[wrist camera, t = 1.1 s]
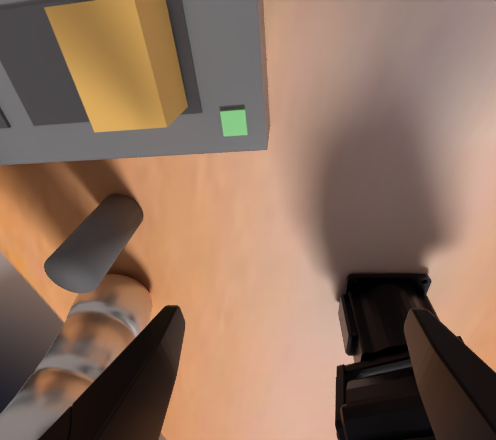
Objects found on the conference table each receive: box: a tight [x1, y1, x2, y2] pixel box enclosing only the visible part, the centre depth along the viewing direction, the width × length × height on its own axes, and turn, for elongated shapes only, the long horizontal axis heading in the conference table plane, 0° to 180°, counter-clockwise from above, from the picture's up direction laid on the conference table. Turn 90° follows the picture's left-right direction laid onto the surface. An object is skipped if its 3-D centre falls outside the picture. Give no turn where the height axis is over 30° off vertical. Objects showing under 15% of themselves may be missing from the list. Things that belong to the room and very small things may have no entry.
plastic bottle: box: [0, 274, 153, 440], centre depth 21 cm, size 6×7×20 cm
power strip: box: [0, 0, 270, 165], centre depth 15 cm, size 23×9×4 cm, turn 96°
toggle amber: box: [44, 0, 188, 133], centre depth 11 cm, size 3×4×3 cm
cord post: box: [44, 194, 143, 293], centre depth 20 cm, size 3×3×7 cm
